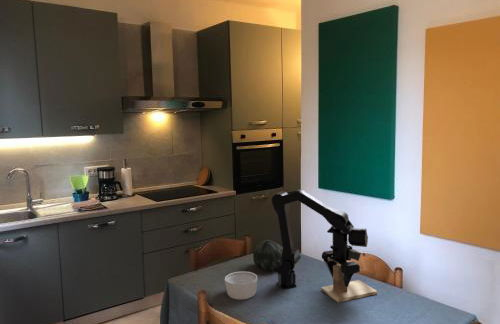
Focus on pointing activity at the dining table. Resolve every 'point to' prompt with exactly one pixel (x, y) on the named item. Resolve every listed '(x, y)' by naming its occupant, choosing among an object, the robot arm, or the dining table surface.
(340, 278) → the walnut block
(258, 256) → the squash
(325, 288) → the birch board
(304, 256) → the dining table surface
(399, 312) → the dining table surface
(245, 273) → the ramekin
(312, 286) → the dining table surface
